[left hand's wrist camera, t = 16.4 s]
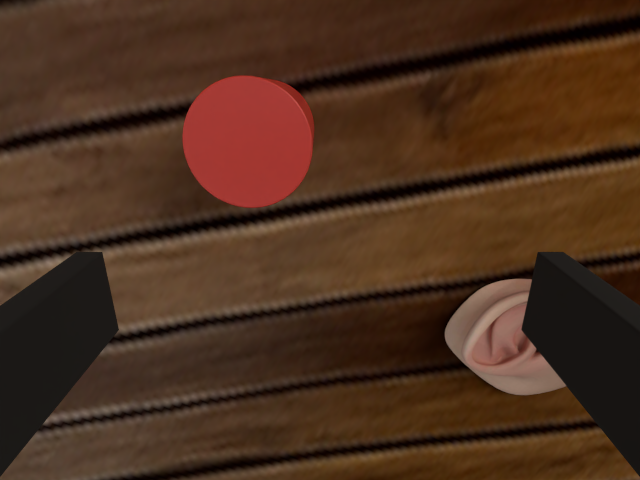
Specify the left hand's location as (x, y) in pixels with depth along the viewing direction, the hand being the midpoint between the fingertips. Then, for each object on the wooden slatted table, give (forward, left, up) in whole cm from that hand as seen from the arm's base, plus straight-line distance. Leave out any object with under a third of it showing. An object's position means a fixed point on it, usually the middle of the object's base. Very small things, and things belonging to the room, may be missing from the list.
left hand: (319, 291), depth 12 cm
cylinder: (-3, +4, -18) cm, 19 cm away
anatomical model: (+15, -17, -18) cm, 29 cm away
